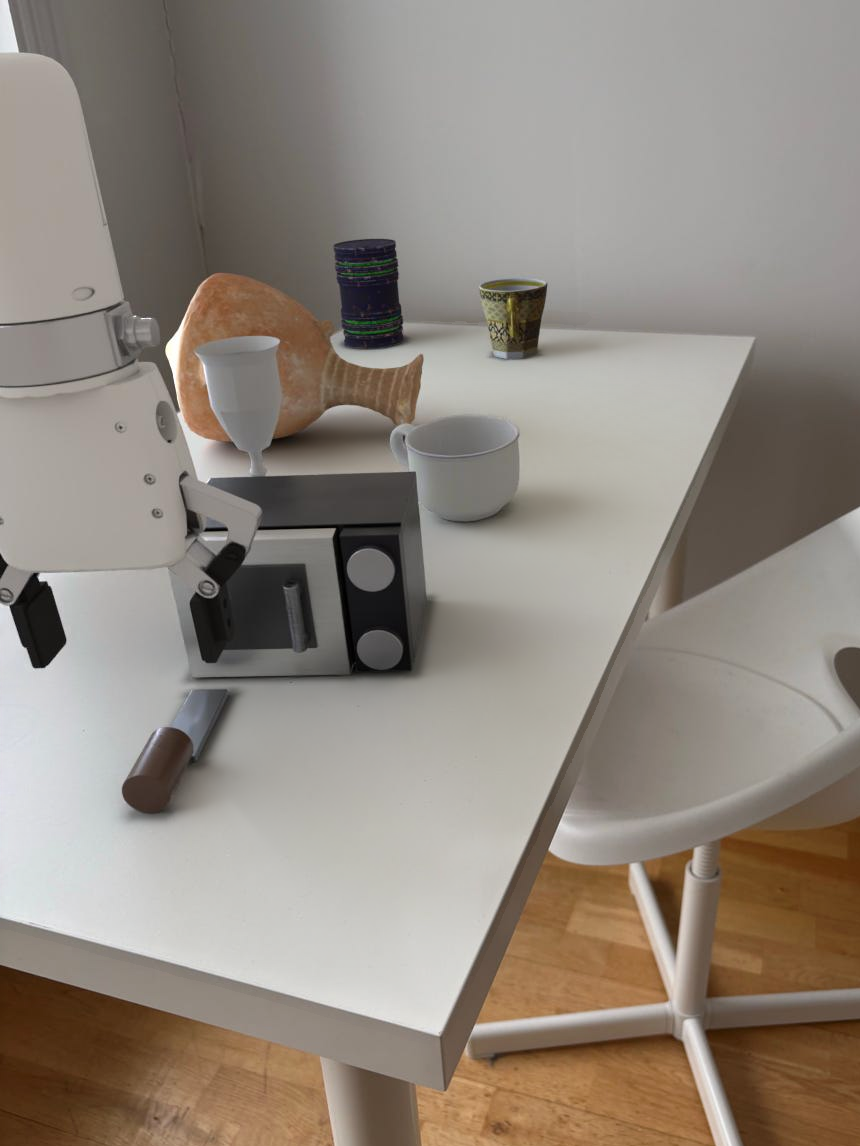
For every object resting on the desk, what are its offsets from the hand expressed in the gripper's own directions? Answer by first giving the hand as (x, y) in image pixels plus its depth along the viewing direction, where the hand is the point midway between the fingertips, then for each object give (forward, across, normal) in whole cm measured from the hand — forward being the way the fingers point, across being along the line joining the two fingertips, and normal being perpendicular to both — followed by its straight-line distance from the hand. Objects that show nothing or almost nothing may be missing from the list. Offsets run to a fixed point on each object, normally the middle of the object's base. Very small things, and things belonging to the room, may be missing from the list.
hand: (133, 653), depth 57 cm
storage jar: (+9, +3, -117) cm, 117 cm away
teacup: (+10, -15, -45) cm, 48 cm away
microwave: (+10, -6, -18) cm, 22 cm away
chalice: (+10, +2, -38) cm, 39 cm away
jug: (+9, +5, -68) cm, 69 cm away
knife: (+10, 0, -4) cm, 10 cm away
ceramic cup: (+9, -20, -104) cm, 106 cm away
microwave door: (+9, -3, -13) cm, 16 cm away
